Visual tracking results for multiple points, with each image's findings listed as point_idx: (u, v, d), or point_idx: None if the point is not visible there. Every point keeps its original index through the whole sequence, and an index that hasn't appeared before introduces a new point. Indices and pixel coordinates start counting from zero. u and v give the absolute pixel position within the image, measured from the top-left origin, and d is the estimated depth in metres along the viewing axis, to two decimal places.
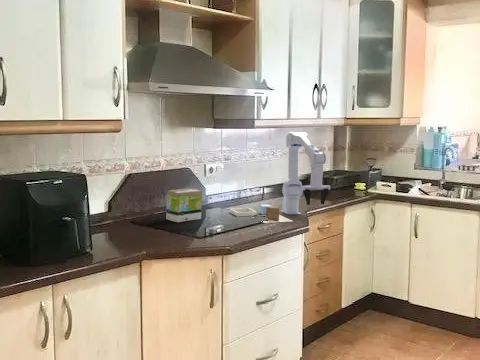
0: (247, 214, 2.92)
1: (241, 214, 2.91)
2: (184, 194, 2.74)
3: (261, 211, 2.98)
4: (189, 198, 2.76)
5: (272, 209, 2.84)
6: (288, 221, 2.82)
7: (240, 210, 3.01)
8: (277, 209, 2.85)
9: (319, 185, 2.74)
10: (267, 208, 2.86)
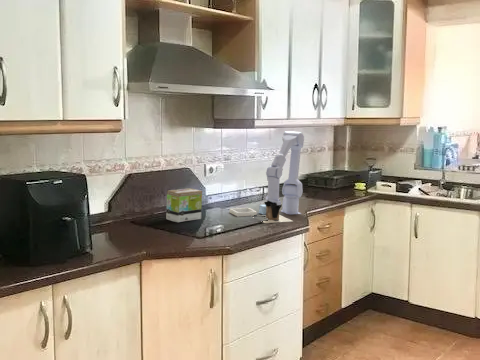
0: (247, 214, 2.92)
1: (241, 214, 2.91)
2: (184, 194, 2.74)
3: (261, 211, 2.98)
4: (188, 198, 2.76)
5: None
6: (288, 221, 2.82)
7: (240, 210, 3.01)
8: None
9: (268, 197, 2.84)
10: (267, 208, 2.86)
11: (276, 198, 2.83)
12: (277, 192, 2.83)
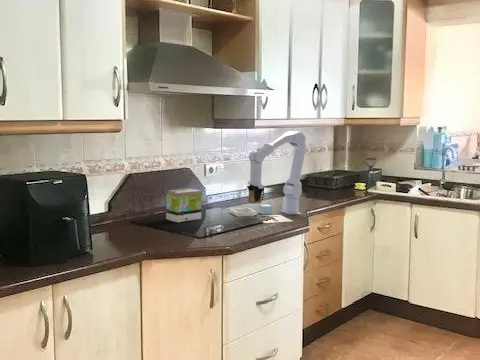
0: (247, 214, 2.92)
1: (241, 214, 2.91)
2: (184, 194, 2.74)
3: (261, 211, 2.98)
4: (189, 198, 2.76)
5: None
6: (288, 221, 2.82)
7: (240, 210, 3.01)
8: None
9: (250, 181, 2.89)
10: (249, 192, 2.91)
11: (258, 182, 2.88)
12: (259, 176, 2.88)
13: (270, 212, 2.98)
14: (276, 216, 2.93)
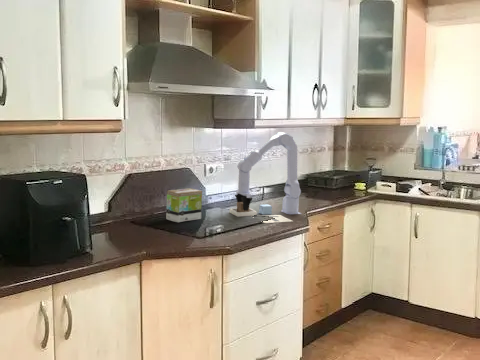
0: (247, 214, 2.92)
1: (241, 214, 2.91)
2: (184, 194, 2.74)
3: (261, 211, 2.98)
4: (188, 198, 2.76)
5: (242, 205, 2.94)
6: (288, 221, 2.82)
7: None
8: None
9: (239, 191, 2.94)
10: (237, 204, 2.96)
11: (246, 191, 2.93)
12: (247, 185, 2.93)
13: (270, 212, 2.98)
14: (276, 216, 2.93)
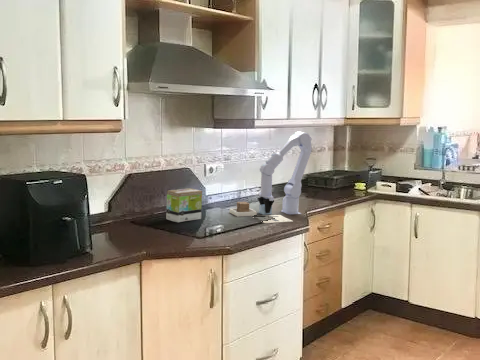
0: (247, 214, 2.92)
1: (241, 214, 2.91)
2: (184, 194, 2.74)
3: (261, 210, 2.98)
4: (188, 198, 2.76)
5: (242, 205, 2.94)
6: (288, 221, 2.82)
7: None
8: (247, 205, 2.95)
9: (261, 193, 2.97)
10: (237, 204, 2.96)
11: (269, 194, 2.96)
12: (270, 188, 2.96)
13: (270, 212, 2.98)
14: (276, 216, 2.93)
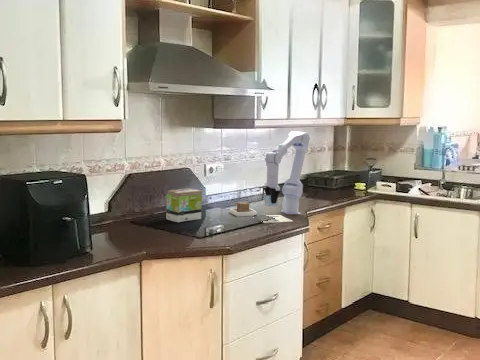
0: (247, 214, 2.92)
1: (241, 214, 2.91)
2: (184, 194, 2.74)
3: (267, 201, 2.87)
4: (188, 198, 2.76)
5: (242, 205, 2.94)
6: (288, 221, 2.82)
7: None
8: (247, 205, 2.95)
9: (267, 183, 2.85)
10: (237, 204, 2.96)
11: (275, 184, 2.85)
12: (276, 178, 2.84)
13: (276, 203, 2.87)
14: (276, 216, 2.93)
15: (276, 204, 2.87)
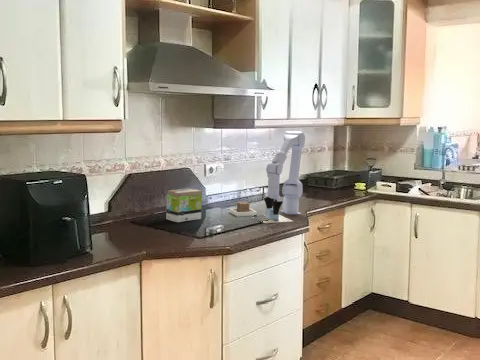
0: (247, 214, 2.92)
1: (241, 214, 2.91)
2: (184, 194, 2.74)
3: (268, 214, 2.85)
4: (188, 198, 2.76)
5: (242, 205, 2.94)
6: (288, 221, 2.82)
7: None
8: (247, 205, 2.95)
9: (268, 194, 2.84)
10: (237, 204, 2.96)
11: (276, 194, 2.83)
12: (277, 188, 2.83)
13: (277, 216, 2.85)
14: None
15: (277, 217, 2.85)
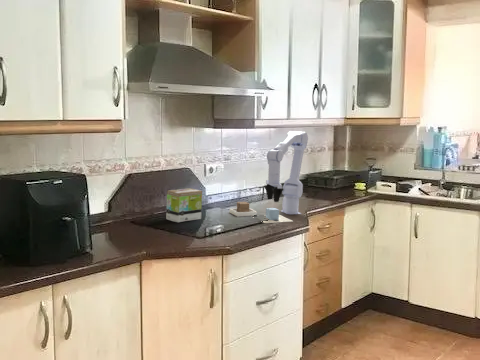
0: (247, 214, 2.92)
1: (241, 214, 2.91)
2: (184, 194, 2.74)
3: (268, 214, 2.85)
4: (189, 198, 2.76)
5: (242, 205, 2.94)
6: (288, 221, 2.82)
7: None
8: (247, 205, 2.95)
9: (269, 181, 2.83)
10: (237, 204, 2.96)
11: (277, 182, 2.82)
12: (278, 176, 2.82)
13: (277, 216, 2.85)
14: None
15: (277, 217, 2.85)
